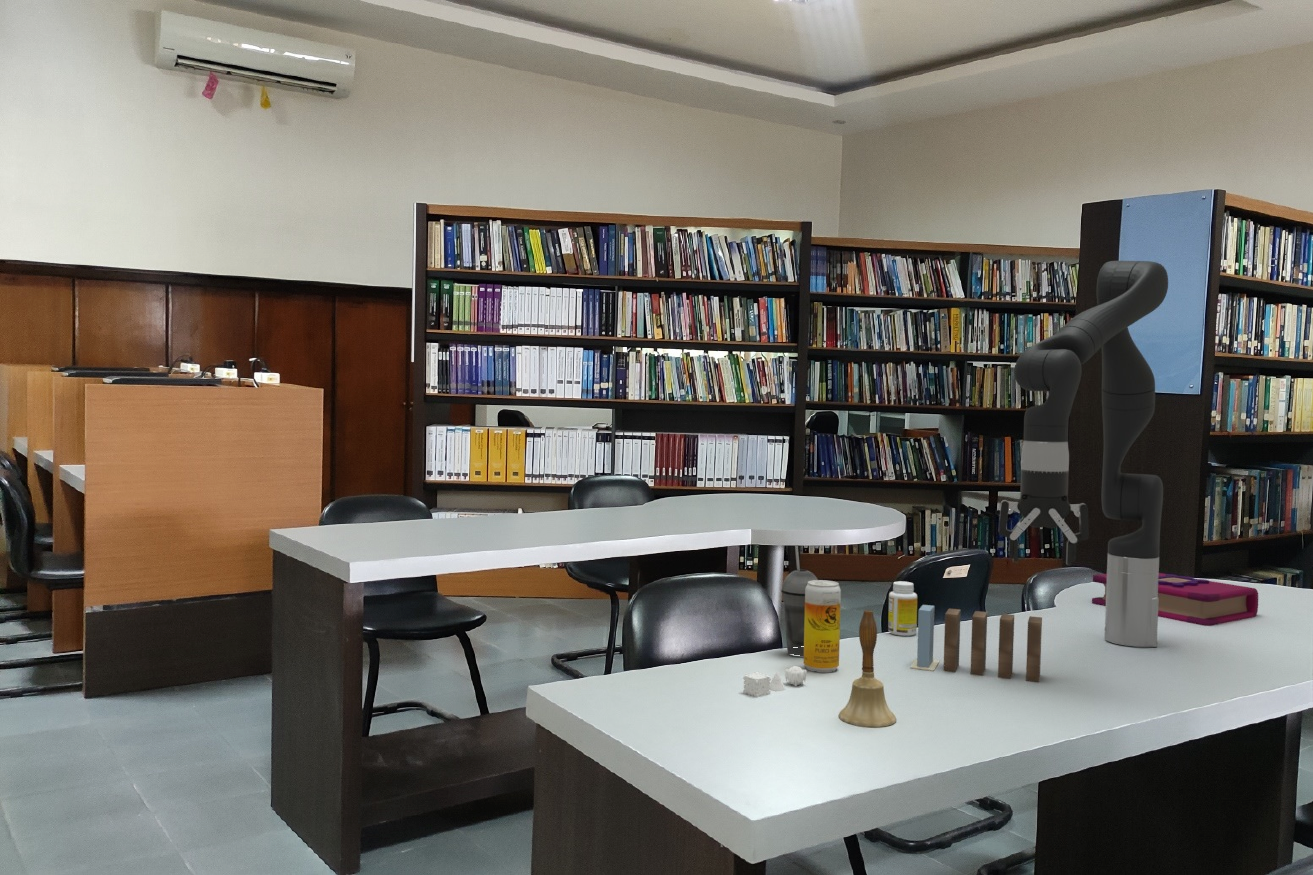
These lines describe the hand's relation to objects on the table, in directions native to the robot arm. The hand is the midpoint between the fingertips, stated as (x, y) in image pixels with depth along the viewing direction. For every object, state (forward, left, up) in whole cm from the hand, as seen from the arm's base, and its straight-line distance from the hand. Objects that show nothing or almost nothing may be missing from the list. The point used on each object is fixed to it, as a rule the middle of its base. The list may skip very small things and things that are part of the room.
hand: (1041, 562), depth 172 cm
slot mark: (+19, +1, -20) cm, 27 cm away
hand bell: (+22, +36, -20) cm, 46 cm away
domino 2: (+14, +1, -20) cm, 24 cm away
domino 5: (+1, +1, -20) cm, 20 cm away
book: (-25, -77, -20) cm, 83 cm away
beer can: (+35, +12, -20) cm, 42 cm away
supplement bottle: (+27, -22, -20) cm, 40 cm away
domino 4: (+5, +1, -20) cm, 20 cm away
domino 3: (+10, +1, -20) cm, 22 cm away
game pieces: (+38, +27, -20) cm, 51 cm away
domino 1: (+19, +1, -19) cm, 27 cm away
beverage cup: (+41, +4, -20) cm, 45 cm away
